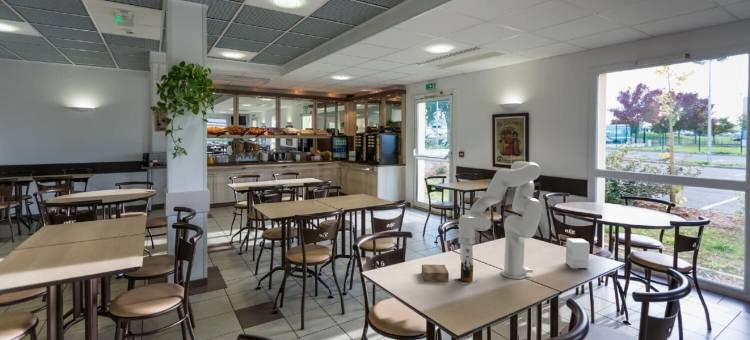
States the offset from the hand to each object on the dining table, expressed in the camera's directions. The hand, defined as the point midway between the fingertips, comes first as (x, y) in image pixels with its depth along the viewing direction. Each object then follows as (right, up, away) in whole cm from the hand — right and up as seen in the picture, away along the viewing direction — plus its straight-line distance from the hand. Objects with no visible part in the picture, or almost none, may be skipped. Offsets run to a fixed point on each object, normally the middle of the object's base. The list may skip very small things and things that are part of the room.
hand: (465, 274), depth 190 cm
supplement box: (+69, -2, +23) cm, 72 cm away
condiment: (0, -3, 0) cm, 3 cm away
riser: (-15, -3, +4) cm, 16 cm away
